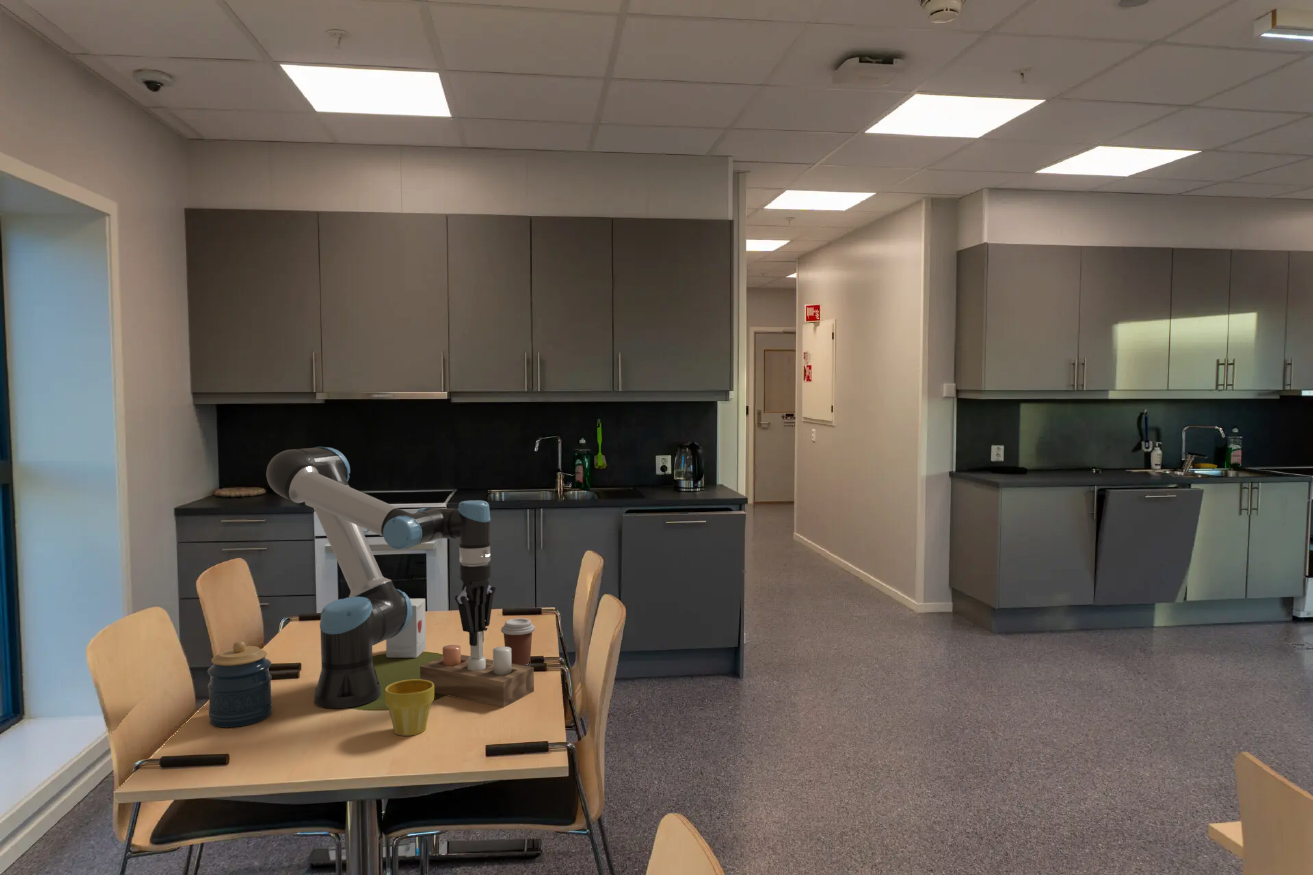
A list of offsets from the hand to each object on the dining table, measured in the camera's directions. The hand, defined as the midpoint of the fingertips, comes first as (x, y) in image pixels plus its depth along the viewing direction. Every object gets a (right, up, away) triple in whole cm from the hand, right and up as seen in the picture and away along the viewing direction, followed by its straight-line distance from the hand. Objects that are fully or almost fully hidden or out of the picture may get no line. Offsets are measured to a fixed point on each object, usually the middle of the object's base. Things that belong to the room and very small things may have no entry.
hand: (476, 657), depth 203 cm
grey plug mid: (0, -7, 0) cm, 7 cm away
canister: (-50, -10, -16) cm, 54 cm away
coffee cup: (+7, -8, +20) cm, 23 cm away
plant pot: (-9, -10, -24) cm, 28 cm away
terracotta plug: (-7, -5, +4) cm, 10 cm away
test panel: (0, -8, 0) cm, 8 cm away
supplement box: (-27, -7, +31) cm, 42 cm away
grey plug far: (+7, -4, -3) cm, 9 cm away
